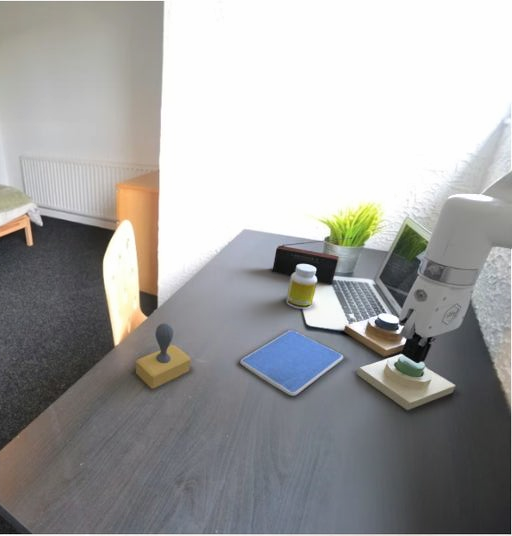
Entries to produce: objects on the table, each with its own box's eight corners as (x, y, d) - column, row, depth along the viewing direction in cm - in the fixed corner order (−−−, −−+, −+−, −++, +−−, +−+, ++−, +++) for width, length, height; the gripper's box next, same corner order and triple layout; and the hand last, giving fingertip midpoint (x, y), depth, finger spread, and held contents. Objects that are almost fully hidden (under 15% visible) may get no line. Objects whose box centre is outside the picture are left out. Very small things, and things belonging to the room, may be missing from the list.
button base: (380, 322, 92) (384, 308, 90) (422, 345, 83) (428, 330, 82) (343, 332, 89) (347, 318, 87) (383, 358, 80) (388, 343, 78)
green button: (405, 361, 74) (408, 352, 73) (426, 374, 70) (430, 365, 69) (390, 366, 72) (393, 357, 72) (411, 379, 69) (415, 371, 68)
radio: (271, 273, 117) (279, 228, 111) (274, 269, 120) (282, 225, 113) (338, 288, 108) (351, 240, 101) (340, 284, 110) (352, 236, 103)
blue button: (384, 319, 87) (386, 311, 86) (401, 328, 83) (404, 320, 82) (371, 323, 86) (373, 315, 85) (388, 332, 82) (391, 324, 81)
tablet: (290, 332, 89) (291, 327, 89) (344, 359, 80) (346, 355, 79) (237, 364, 79) (238, 359, 79) (293, 400, 70) (294, 395, 69)
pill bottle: (315, 310, 98) (324, 272, 93) (291, 310, 98) (299, 273, 93) (304, 298, 103) (312, 262, 98) (282, 298, 103) (289, 262, 99)
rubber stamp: (172, 356, 82) (174, 310, 77) (190, 371, 78) (194, 323, 73) (135, 373, 78) (135, 325, 73) (151, 390, 73) (153, 340, 68)
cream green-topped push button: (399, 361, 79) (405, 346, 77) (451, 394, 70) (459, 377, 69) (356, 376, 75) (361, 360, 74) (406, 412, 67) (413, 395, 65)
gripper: (442, 288, 57) (403, 381, 65) (504, 272, 61) (461, 360, 69) (394, 268, 63) (364, 355, 71) (453, 255, 68) (419, 338, 75)
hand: (412, 357), depth 70 cm, fingers closed
